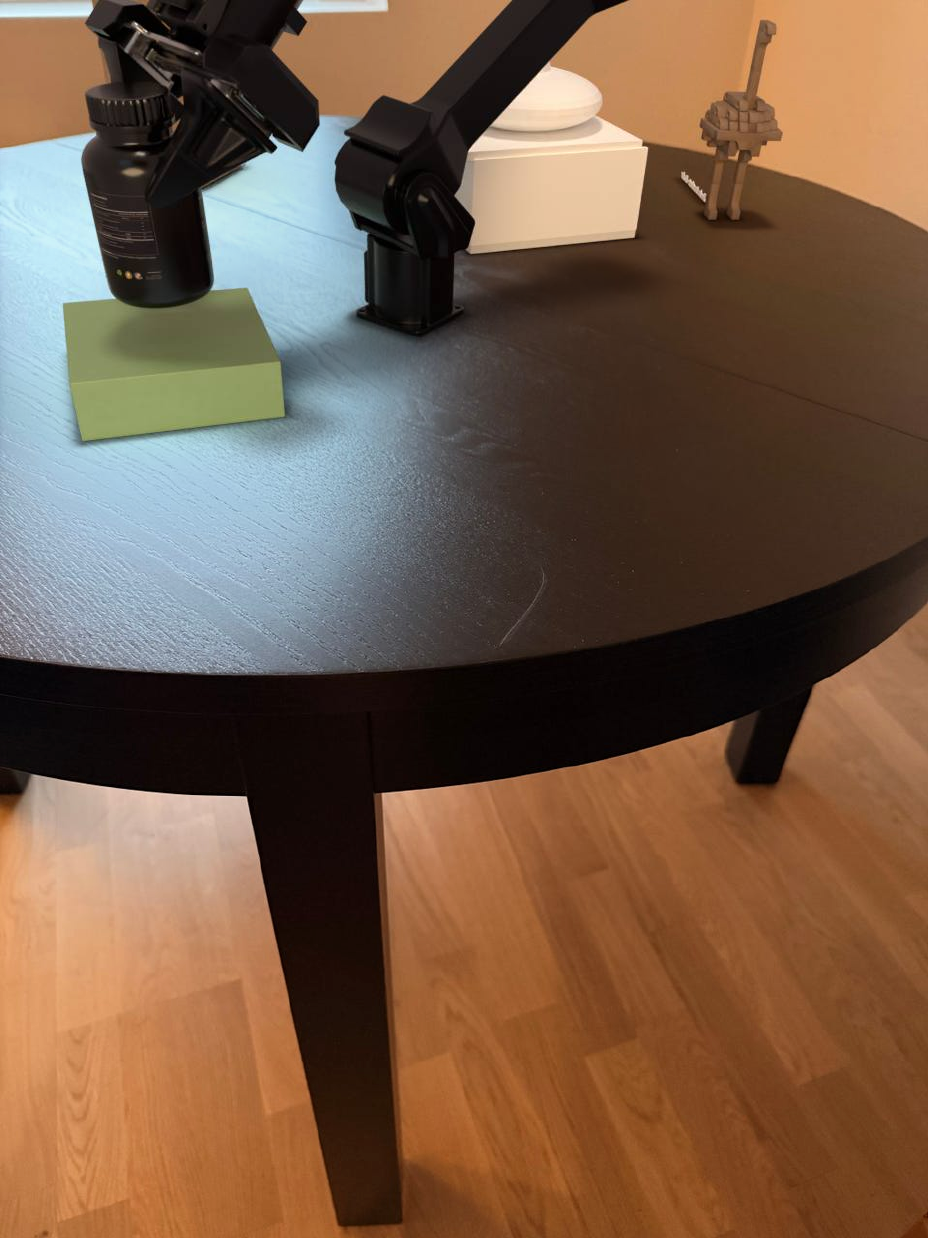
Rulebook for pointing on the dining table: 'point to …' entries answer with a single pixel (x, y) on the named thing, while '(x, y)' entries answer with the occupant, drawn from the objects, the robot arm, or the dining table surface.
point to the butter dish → (552, 171)
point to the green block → (170, 365)
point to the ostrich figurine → (738, 130)
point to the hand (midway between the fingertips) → (124, 189)
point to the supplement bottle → (142, 201)
